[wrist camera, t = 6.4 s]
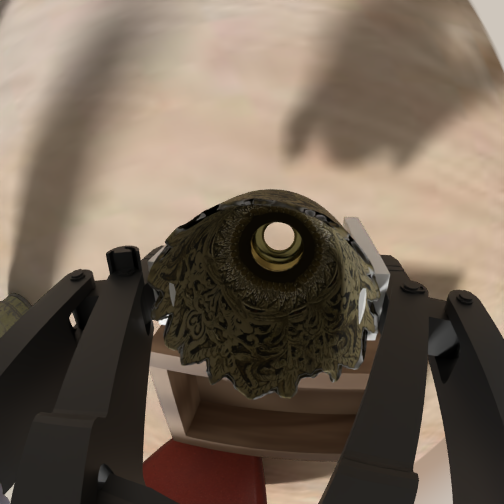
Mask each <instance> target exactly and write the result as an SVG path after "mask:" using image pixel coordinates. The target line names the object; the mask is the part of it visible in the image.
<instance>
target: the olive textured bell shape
mask: <svg viewBox="0 0 504 504" xmlns="http://www.w3.org/2000/svg"><path fill="white" fill-rule="evenodd" d="M273 222H281V223H285V224H288V225H289V226H290V227H291V228H292V229H293V231H294V241H293V243H292V245H291V246H290V247H289V248H287V249H285V250H274V249H272V248H270V247H269V246H268V245H267V244H266V242H265V240H264V232H265V229H266V228H267V226H268V225H269V224H271V223H273ZM165 243H166V244H167V245H166V247H165V248H164V249H163V251H162V252H161V253H160V254H159V255H158V256H157V258H156V260H155V261H154V263H153V265H152V267H151V269H150V272H149V275H148V278H147V281H148V284H149V285H150V286H151V288H152V289H154V290H155V291H156V293H157V295H158V298H157V300H156V301H155V302H154V304H153V307H152V308H151V316H150V317H151V319H152V320H156V321H160V320H163V319H167V318H168V319H167V322H166V325H165V329H164V333H163V337H164V342H165V345H166V346H167V347H168V349H172V350H174V351H175V350H177V351H178V353H180V362H181V365H182V366H188V365H193V364H201V363H202V362H203V361H206V367H207V369H206V373H207V375H208V378H209V382H210V384H211V385H214V384H216V383H217V382H219V381H220V380H221V379H222V378H227V379H228V380H230V381H231V382H232V384H233V386H234V388H235V389H236V390H238V391H239V392H241V393H242V394H243V395H244V396H245V397H246V398H248V399H251V400H255V399H258V398H261V397H263V396H265V395H267V394H271V393H274V392H275V393H277V394H278V395H279V396H280V397H282V398H289V399H290V398H292V397H293V396H294V395H295V394H296V393H297V391H298V389H297V388H298V384H299V382H300V380H301V379H303V378H306V377H310V378H315V377H316V376H317V375H318V374H319V373H320V372H321V373H322V372H325V373H326V374H328V375H329V377H330V380H331V382H332V383H333V382H337V381H338V379H339V378H340V376H341V373H342V366H343V367H344V368H348V369H353V370H356V369H359V367H360V366H361V364H362V363H363V361H364V358H365V354H366V347H367V335H368V332H369V333H370V332H371V333H373V334H375V333H376V334H378V333H379V320H378V314H377V312H376V310H375V307H374V303H373V301H378V299H380V297H381V294H380V289H379V286H378V284H377V282H376V276H375V275H374V273H375V271H374V268H373V265H372V264H371V262H370V260H369V259H368V257H367V256H366V254H365V253H364V251H363V250H362V249H361V247H360V246H359V245H358V244H357V243H356V242H355V241H354V239H353V238H352V237H351V236H350V234H349V233H348V232H347V231H346V230H345V229H344V227H343V226H342V225H341V224H340V223H339V222H338V221H337V220H336V219H335V218H334V217H333V216H332V215H331V214H330V213H329V212H328V211H327V210H326V209H325V208H323V207H322V206H320V205H319V204H318V203H316V202H314V201H313V200H311V199H309V198H307V197H305V196H302V195H300V194H297V193H294V192H290V191H284V190H273V189H268V190H258V191H252V192H248V193H245V194H242V195H239V196H236V197H234V198H231V199H229V200H227V201H225V202H223V203H220V204H218V205H216V206H214V207H212V208H210V209H208V210H205V211H204V212H202V213H201V214H199V215H198V216H196V217H195V218H194V219H192V220H191V221H189V222H188V223H186V224H184V225H182V226H179V227H178V228H176V229H175V230H174V231H173V232H172V233H171V235H170V236H169V237H168V238H167V239H166V241H165ZM369 274H370V278H371V279H370V278H369V276H367V275H369ZM169 282H170V283H172V284H174V287H175V291H176V295H175V301H174V307H173V305H172V301H171V297H170V290H169ZM363 288H366V305H365V309H364V314H363V317H362V319H361V322H360V324H359V296H360V292H361V290H362V289H363ZM368 300H369V301H371V307H370V308H369V305H368ZM172 314H173V316H172ZM167 315H169V316H167Z"/></svg>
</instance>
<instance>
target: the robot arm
mask: <svg viewBox="0 0 504 504" xmlns="http://www.w3.org/2000/svg"><path fill="white" fill-rule="evenodd" d="M343 227H344V229H345V230H346V231H347V232H348V233H349V234H350V236H351V237H352V238H353V239H354V241H355V242H356V243H357V244H358V245H359V246H360V247H361V249H362V250H363V251H364V253H365V254H366V256H367V257H368V259H369V260H370V262H371V264H372V265H373V268H374V271H375V273H374V275H375V276H376V282H377V284H378V286H379V289H380V294H381V297H380V299H378V301H373V303H374V307H375V310H376V312H377V314H378V320H379V331H380V334H381V336H380V340H379V344H378V347H377V351H376V354H375V357H374V362H373V365H372V369H371V372H370V375H369V379H368V382H367V385H366V388H365V391H364V394H363V397H362V400H361V403H360V406H359V409H358V412H357V415H356V418H355V420H354V423H353V426H352V428H351V431H350V434H349V436H348V439H347V441H346V444H345V446H344V449H343V451H342V453H341V456H340V458H339V461H338V463H337V465H336V467H335V470H334V472H333V474H332V476H331V478H330V481H329V483H328V485H327V487H326V489H325V491H324V493H323V495H322V497H321V499H320V501H319V503H318V504H414V501H415V497H416V493H417V489H418V482H419V478H418V474H417V473H414V472H413V465H414V460H415V455H416V450H417V445H418V439H419V433H420V427H421V420H422V413H423V405H424V397H425V387H426V376H427V361H428V360H429V364H430V367H431V371H432V375H433V379H434V383H435V387H436V392H437V396H438V401H439V405H440V410H441V415H442V420H443V425H444V431H445V437H446V443H447V449H448V457H449V464H450V473H451V483H452V494H453V504H504V339H503V337H502V335H501V333H500V332H499V330H498V328H497V327H496V325H495V323H494V322H493V320H492V318H491V317H490V315H489V314H488V312H487V311H486V309H485V307H484V306H483V304H482V303H481V301H480V300H479V299H478V298H477V297H476V296H475V295H473V294H472V293H471V292H469V291H468V292H467V291H465V290H463V291H462V290H453V291H451V292H450V293H449V295H448V298H447V301H443V300H438V299H434V298H430V297H428V291H427V288H425V287H424V286H423V285H422V284H420V283H418V282H414V281H411V280H410V279H409V277H408V276H407V274H406V272H405V271H404V269H403V268H402V267H401V264H400V263H399V261H398V260H397V259H395V258H394V257H392V256H391V255H380V254H379V253H378V251H377V249H376V247H375V245H374V244H373V242H372V240H371V238H370V237H369V235H368V233H367V232H366V230H365V228H364V226H363V225H362V223H361V221H360V220H359V218H358V217H344V224H343ZM166 245H167V244H166ZM166 245H165V246H160V247H158V248H156V249H153V250H152V251H151V252H150V253H149V254H148V255H147V256H145V257H144V259H142V260H140V253H139V248H137V247H135V246H122V247H117V248H114V249H112V250H110V251H108V252H107V253H106V257H107V262H108V267H109V272H110V275H109V277H108V279H107V280H100V281H94V277H93V273H92V271H90V270H82V269H79V270H75V271H73V272H72V273H69V274H68V275H66V276H65V277H64V278H63V279H62V280H60V281H59V282H58V283H57V284H56V285H55V286H54V287H53V288H52V289H50V290H49V291H48V292H47V293H46V294H45V295H44V296H43V297H42V298H41V299H39V300H38V301H37V302H36V303H35V304H34V305H33V306H32V307H31V308H30V309H29V310H28V311H27V312H26V313H25V314H24V315H23V316H22V317H21V318H20V319H19V320H18V321H17V322H16V323H15V324H14V325H13V326H12V327H11V328H10V329H9V330H8V331H7V332H6V333H5V334H4V335H3V336H2V337H1V338H0V504H180V503H178V502H176V501H174V500H172V499H170V498H168V497H166V496H165V495H163V494H161V493H159V492H157V491H156V490H154V489H152V488H150V487H147V486H146V485H145V481H144V478H143V442H144V423H145V409H146V396H147V385H148V374H149V365H150V356H151V347H152V339H153V332H154V326H153V321H152V319H151V317H150V316H151V308H152V307H153V304H154V302H155V301H156V300H157V298H158V295H157V293H156V291H155V290H154V289H152V288H151V286H150V285H149V284H148V281H147V278H148V275H149V272H150V269H151V267H152V265H153V263H154V261H155V260H156V258H157V256H158V255H159V254H160V253H161V252H162V251H163V249H164V248H165V247H166ZM367 276H369V278H370V274H369V275H367ZM370 279H371V278H370ZM169 290H170V297H171V301H172V305H173V307H174V301H175V295H176V291H175V287H174V284H172V283H170V282H169ZM365 305H366V288H363V289H362V290H361V292H360V296H359V324H360V322H361V319H362V317H363V314H364V309H365ZM368 305H369V308H370V307H371V301H369V300H368ZM71 313H73V315H74V318H75V321H76V325H75V326H74V327H72V325H71V322H70V320H69V317H70V315H71ZM167 316H169V315H167ZM172 316H173V314H172ZM167 319H168V318H167ZM167 319H163V320H160V321H159V324H161V325H166V322H167ZM376 335H377V334H376V333H375V334H373V333H371V332H370V333H369V332H368V335H367V340H375V339H376ZM14 483H15V484H14ZM13 484H14V489H13V493H12V498H11V503H10V502H9V500H8V498H7V497H6V496H5V495H4V494H5V493H6V492H7V491H8V490H9V489H10V488H11V487H12V486H13Z"/></svg>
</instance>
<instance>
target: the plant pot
mask: <svg viewBox="0 0 504 504" xmlns="http://www.w3.org/2000/svg"><path fill="white" fill-rule="evenodd" d="M143 478H144V481H145V485H146V486H147V487H150V488H152V489H154V490H156V491H157V492H159V493H161V494H163V495H165V496H166V497H168V498H170V499H172V500H174V501H176V502H178V503H180V504H267V498H266V487H265V479H264V471H263V465H262V460H261V457H258V456H250V455H243V454H237V453H230V452H224V451H219V450H213V449H208V448H203V447H199V446H194V445H190V444H185V443H181V442H177V441H174V440H173V439H170V440H169V441H168V442H166V443H165V444H164V445H163V446H161V447H160V448H159V449H158V450H157V451H156V452H154V453H153V454H152V455H151V456H150V457H149V458H148V459H146V460H145V461H144V462H143Z"/></svg>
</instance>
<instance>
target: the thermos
mask: <svg viewBox="0 0 504 504" xmlns="http://www.w3.org/2000/svg"><path fill="white" fill-rule="evenodd" d="M31 307H32V306H31V305H30V304H29V303H28V301H27V300H26V299H24V298H23V297H22V296H20V295H19V294H15V293H13V294H10V295H9V296H8V297H7V298H6V299H4V300H3V301H0V338H1V337H2V336H3V335H4V334H5V333H6V332H7V331H8V330H9V329H10V328H11V327H12V326H13V325H14V324H15V323H16V322H17V321H18V320H19V319H20V318H21V317H22V316H23V315H24V314H25V313H26V312H27V311H28V310H29V309H30V308H31Z"/></svg>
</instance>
